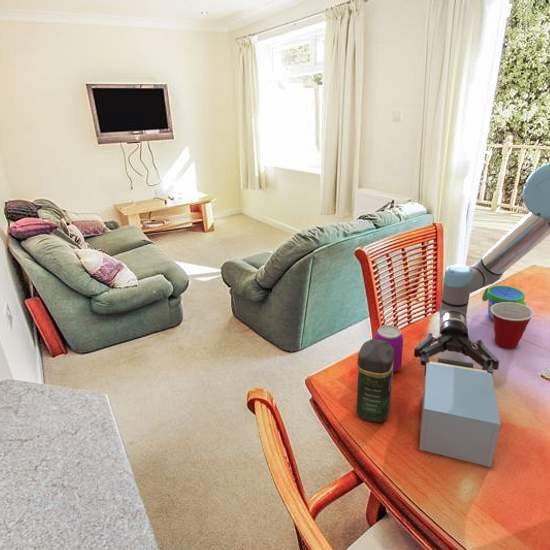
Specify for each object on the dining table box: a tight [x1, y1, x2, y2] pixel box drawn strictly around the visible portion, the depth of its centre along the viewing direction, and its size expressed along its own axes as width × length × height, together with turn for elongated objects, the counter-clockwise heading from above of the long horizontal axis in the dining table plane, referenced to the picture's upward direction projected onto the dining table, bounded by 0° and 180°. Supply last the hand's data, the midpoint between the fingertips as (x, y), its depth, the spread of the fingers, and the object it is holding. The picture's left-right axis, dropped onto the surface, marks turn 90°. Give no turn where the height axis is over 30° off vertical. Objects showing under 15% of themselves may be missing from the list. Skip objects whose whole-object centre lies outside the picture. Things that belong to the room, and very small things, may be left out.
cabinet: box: [419, 363, 502, 468], centre depth 83 cm, size 16×14×12 cm
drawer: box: [429, 357, 487, 373], centre depth 88 cm, size 20×13×10 cm, turn 158°
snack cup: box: [481, 284, 527, 322], centre depth 124 cm, size 16×10×10 cm
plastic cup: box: [490, 302, 535, 350], centre depth 111 cm, size 11×11×12 cm
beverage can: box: [374, 324, 404, 373], centre depth 106 cm, size 8×8×12 cm
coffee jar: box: [355, 338, 394, 423], centre depth 90 cm, size 10×8×19 cm
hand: (455, 377), depth 91 cm, fingers closed on drawer, 13 cm apart
